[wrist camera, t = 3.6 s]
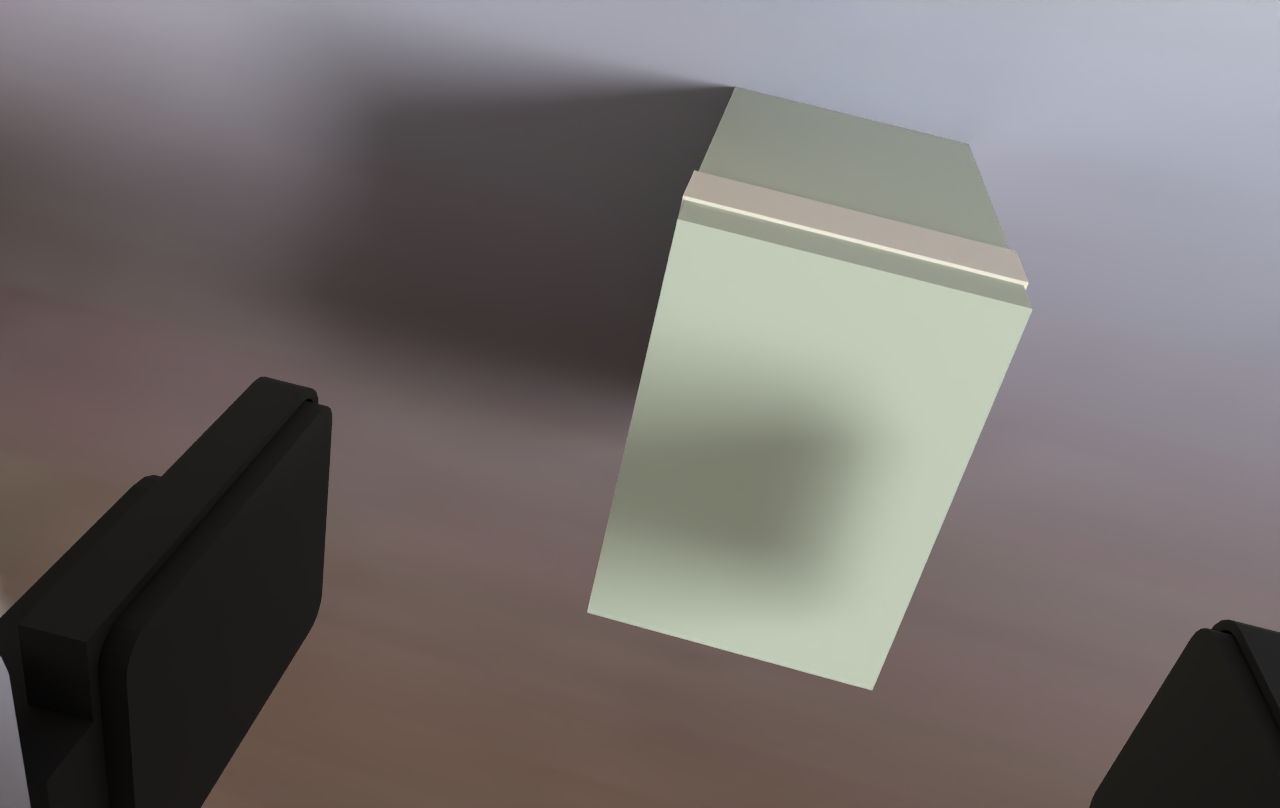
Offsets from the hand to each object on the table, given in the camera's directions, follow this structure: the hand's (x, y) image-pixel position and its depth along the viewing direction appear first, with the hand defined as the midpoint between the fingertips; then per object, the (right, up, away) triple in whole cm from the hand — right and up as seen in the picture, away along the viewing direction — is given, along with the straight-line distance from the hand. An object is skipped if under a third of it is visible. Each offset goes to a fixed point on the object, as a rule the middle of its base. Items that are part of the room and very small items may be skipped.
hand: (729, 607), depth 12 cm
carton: (+2, +5, +10) cm, 12 cm away
